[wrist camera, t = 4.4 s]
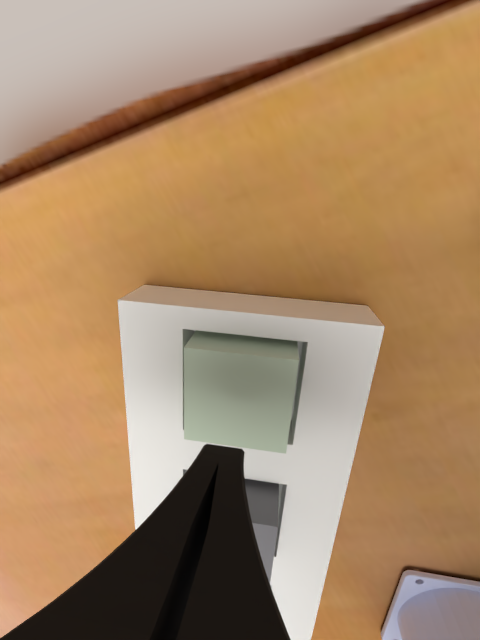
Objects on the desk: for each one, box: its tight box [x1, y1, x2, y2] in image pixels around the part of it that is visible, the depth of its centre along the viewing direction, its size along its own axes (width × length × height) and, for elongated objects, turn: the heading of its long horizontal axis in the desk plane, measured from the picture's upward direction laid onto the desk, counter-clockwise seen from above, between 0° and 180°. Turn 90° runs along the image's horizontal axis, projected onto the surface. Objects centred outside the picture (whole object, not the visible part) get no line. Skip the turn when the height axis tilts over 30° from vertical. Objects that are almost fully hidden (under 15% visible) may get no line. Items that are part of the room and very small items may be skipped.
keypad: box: [118, 285, 385, 640], centre depth 20 cm, size 12×25×3 cm, turn 177°
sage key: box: [184, 330, 299, 454], centre depth 16 cm, size 5×5×3 cm
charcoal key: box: [245, 479, 279, 583], centre depth 18 cm, size 5×5×3 cm
